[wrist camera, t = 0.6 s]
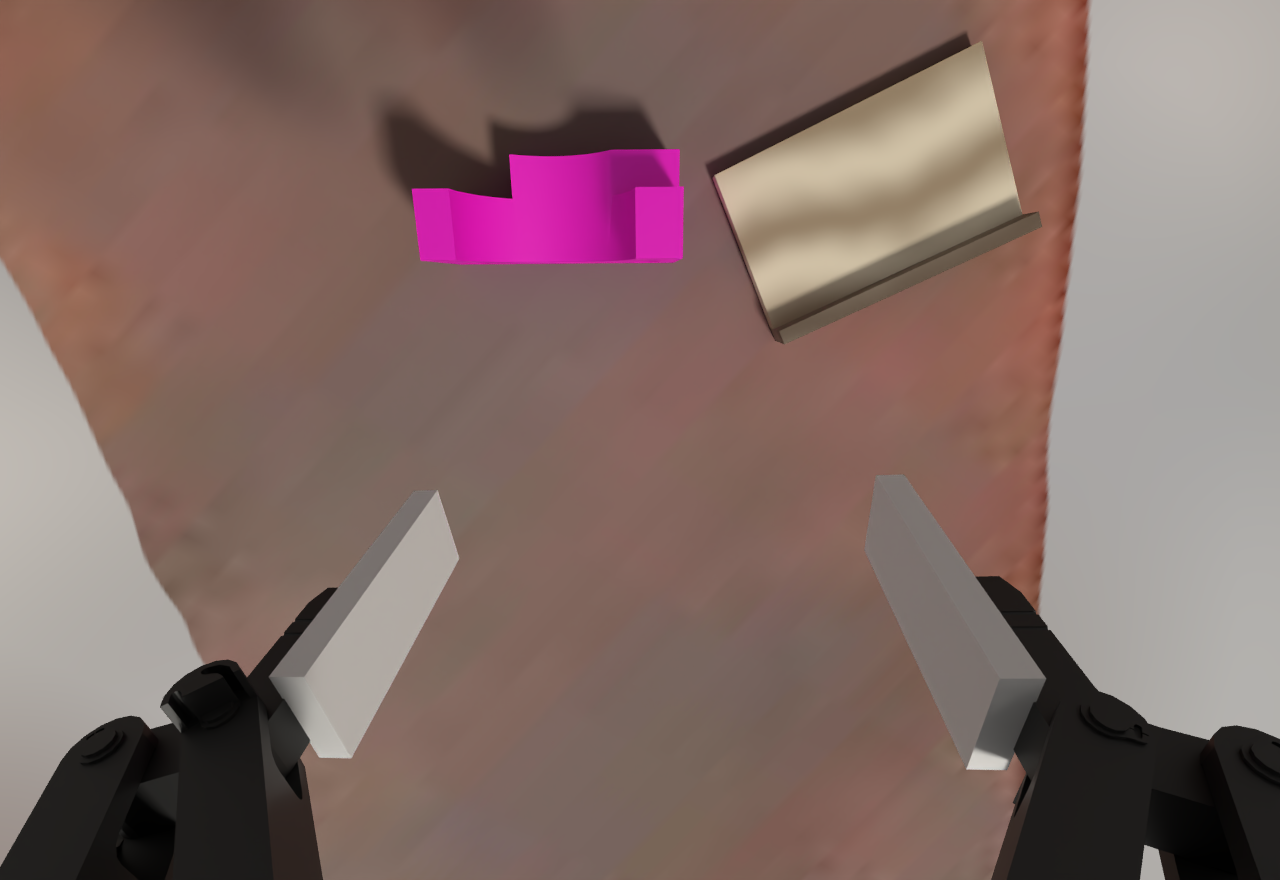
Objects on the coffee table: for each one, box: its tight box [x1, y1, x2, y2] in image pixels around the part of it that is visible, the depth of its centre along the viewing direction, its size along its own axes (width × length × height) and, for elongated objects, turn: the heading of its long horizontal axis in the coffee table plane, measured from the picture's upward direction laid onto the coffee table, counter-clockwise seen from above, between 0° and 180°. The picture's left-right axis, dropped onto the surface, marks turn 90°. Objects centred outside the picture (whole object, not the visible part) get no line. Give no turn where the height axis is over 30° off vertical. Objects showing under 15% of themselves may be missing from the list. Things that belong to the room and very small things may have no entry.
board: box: [713, 41, 1042, 344], centre depth 35 cm, size 12×18×2 cm, turn 115°
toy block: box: [412, 149, 684, 264], centre depth 33 cm, size 15×6×8 cm, turn 91°
